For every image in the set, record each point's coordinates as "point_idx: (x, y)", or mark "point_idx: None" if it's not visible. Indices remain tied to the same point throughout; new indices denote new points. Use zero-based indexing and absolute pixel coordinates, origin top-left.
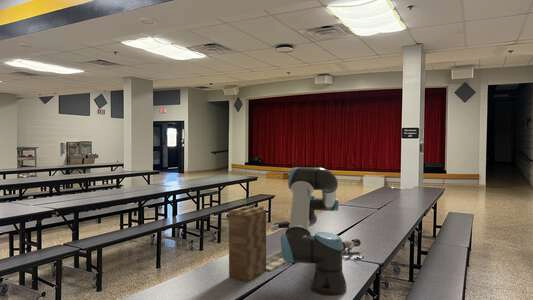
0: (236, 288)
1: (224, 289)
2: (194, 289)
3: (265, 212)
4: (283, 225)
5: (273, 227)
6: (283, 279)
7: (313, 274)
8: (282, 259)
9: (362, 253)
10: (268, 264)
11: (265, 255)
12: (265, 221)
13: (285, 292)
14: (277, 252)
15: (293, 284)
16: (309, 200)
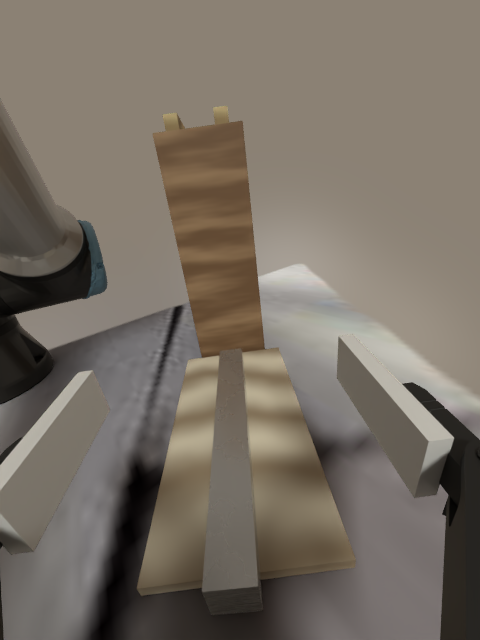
0: None
1: None
2: (260, 284)
3: (156, 146)
4: (452, 612)
5: (347, 359)
6: (133, 356)
7: (31, 339)
8: (196, 442)
9: None
10: (217, 376)
11: (193, 313)
12: (165, 189)
13: (113, 332)
14: (225, 419)
15: (101, 354)
16: None
